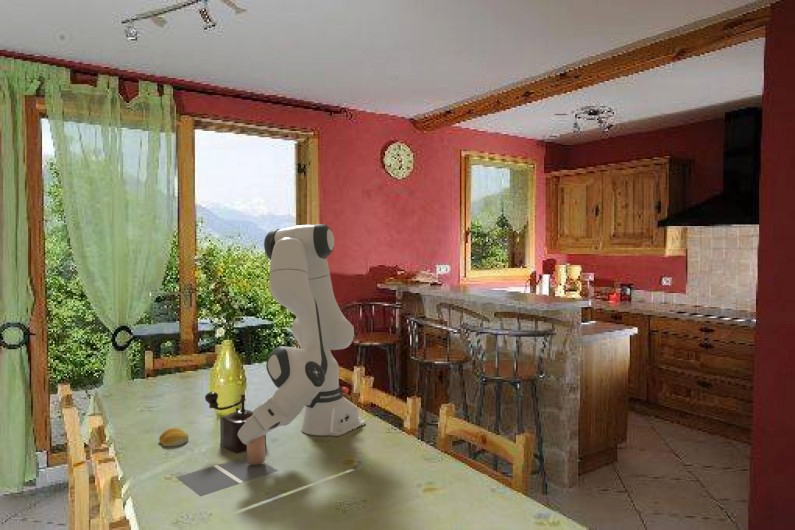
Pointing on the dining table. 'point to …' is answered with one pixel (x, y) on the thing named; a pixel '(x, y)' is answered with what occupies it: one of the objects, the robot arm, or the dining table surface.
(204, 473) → the throwing lane
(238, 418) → the manual coffee grinder
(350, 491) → the dining table surface
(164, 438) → the bread roll
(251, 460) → the terracotta jar
